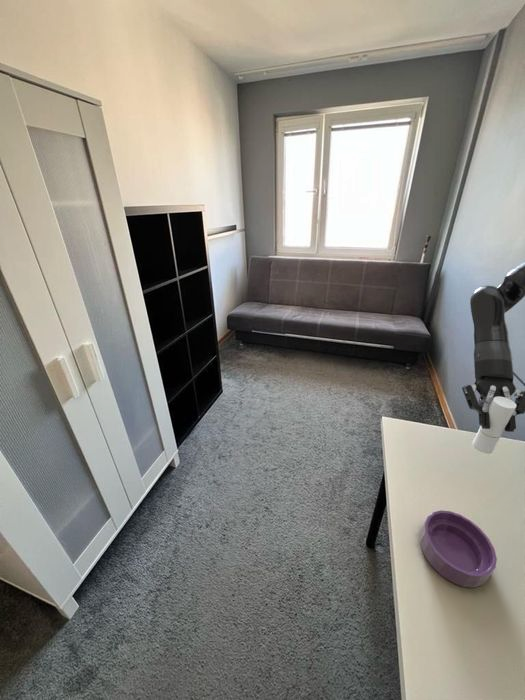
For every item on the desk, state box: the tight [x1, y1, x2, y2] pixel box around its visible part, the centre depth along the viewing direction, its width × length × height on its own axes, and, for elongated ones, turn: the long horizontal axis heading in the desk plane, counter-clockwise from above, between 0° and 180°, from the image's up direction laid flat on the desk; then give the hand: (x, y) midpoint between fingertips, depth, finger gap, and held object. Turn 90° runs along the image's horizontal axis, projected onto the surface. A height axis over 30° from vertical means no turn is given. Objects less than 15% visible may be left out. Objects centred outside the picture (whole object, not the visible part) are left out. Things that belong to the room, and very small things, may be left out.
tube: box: [472, 396, 516, 455], centre depth 69 cm, size 4×4×15 cm
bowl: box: [419, 509, 498, 589], centre depth 62 cm, size 13×13×6 cm
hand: (497, 429), depth 67 cm, fingers closed on tube, 4 cm apart
